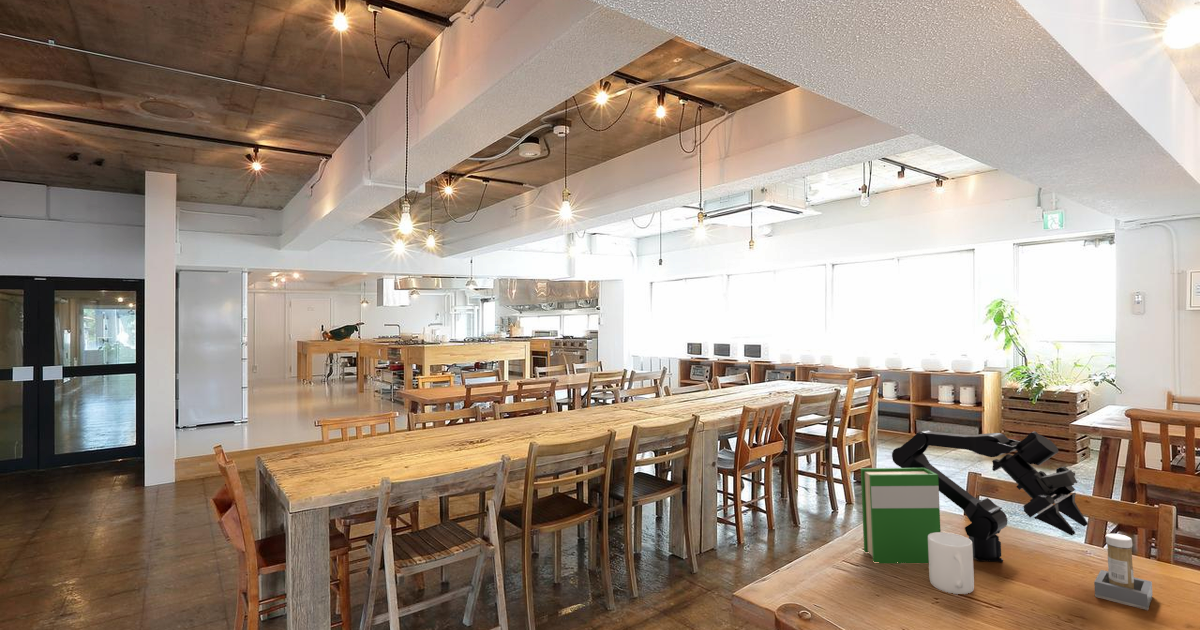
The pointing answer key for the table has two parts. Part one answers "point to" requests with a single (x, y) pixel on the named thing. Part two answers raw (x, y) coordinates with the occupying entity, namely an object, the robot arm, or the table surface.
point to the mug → (951, 562)
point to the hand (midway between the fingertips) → (1080, 529)
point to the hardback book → (899, 513)
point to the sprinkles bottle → (1120, 560)
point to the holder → (1124, 591)
